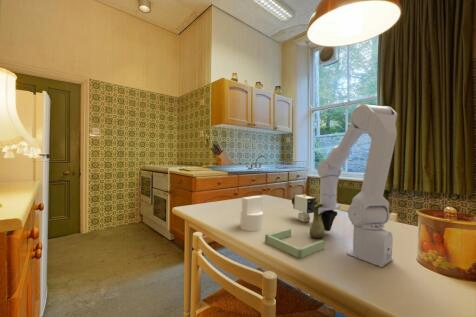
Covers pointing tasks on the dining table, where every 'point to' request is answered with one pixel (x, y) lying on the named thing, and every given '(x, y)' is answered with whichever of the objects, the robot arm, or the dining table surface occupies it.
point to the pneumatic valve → (304, 206)
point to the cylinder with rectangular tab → (252, 213)
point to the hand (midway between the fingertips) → (326, 230)
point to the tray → (293, 250)
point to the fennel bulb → (317, 223)
